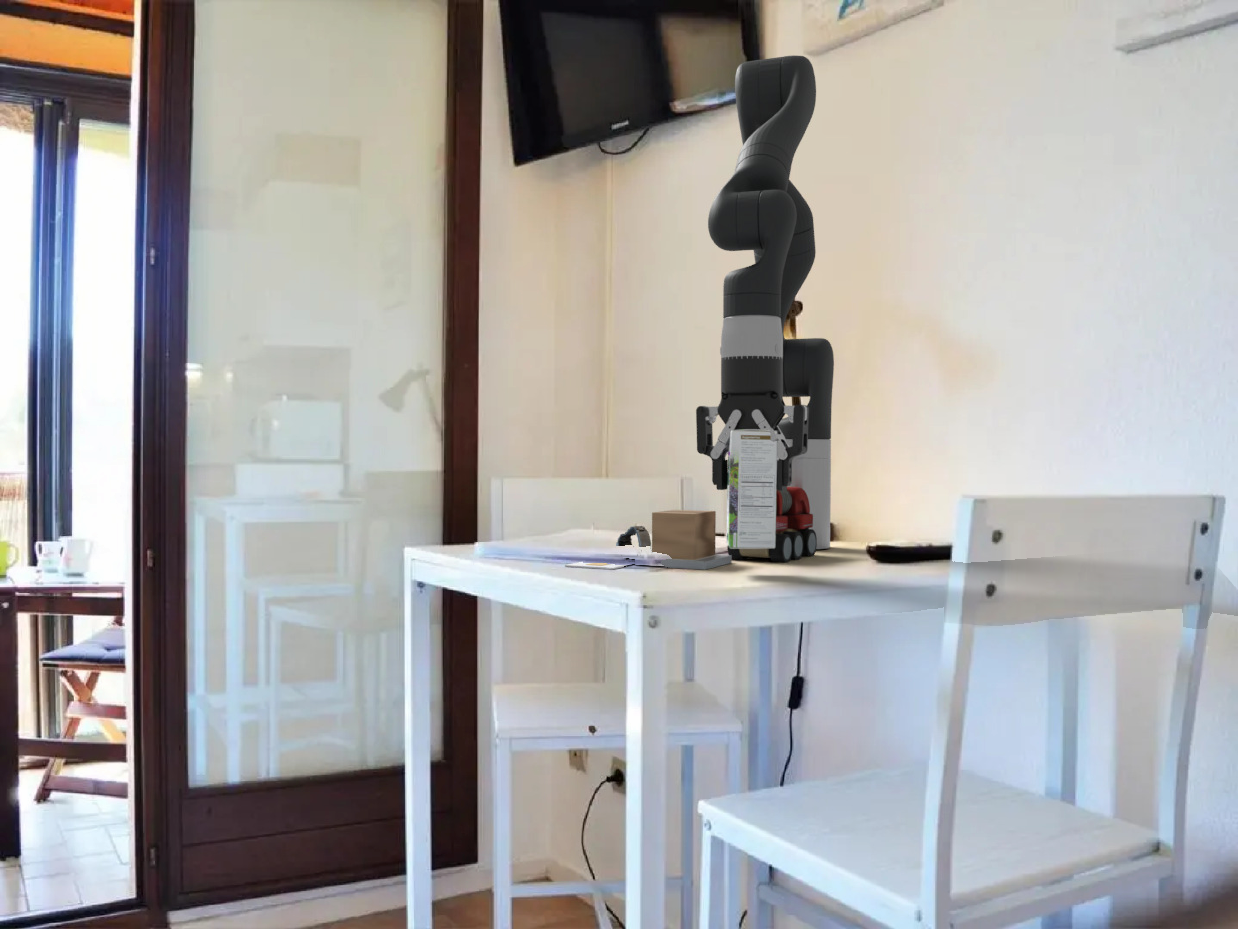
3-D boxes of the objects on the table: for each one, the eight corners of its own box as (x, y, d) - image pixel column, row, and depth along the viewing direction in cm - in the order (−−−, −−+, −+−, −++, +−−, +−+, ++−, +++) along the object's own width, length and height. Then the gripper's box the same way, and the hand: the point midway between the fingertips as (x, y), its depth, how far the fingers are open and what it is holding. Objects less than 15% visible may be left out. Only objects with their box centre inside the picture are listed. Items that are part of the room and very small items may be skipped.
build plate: (664, 559, 147) (664, 551, 147) (731, 562, 143) (731, 555, 143) (634, 565, 138) (634, 557, 138) (705, 569, 134) (705, 561, 134)
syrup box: (725, 544, 132) (725, 429, 131) (772, 544, 132) (773, 429, 131) (728, 549, 126) (729, 428, 126) (778, 549, 126) (778, 428, 125)
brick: (674, 552, 146) (674, 509, 146) (715, 554, 143) (715, 511, 143) (651, 557, 138) (652, 512, 138) (694, 560, 136) (694, 513, 136)
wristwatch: (643, 568, 148) (626, 541, 151) (658, 546, 145) (641, 518, 147) (626, 572, 147) (609, 544, 149) (640, 550, 143) (623, 521, 146)
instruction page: (596, 560, 145) (596, 558, 145) (642, 563, 142) (642, 561, 142) (564, 566, 137) (564, 564, 137) (612, 569, 134) (612, 567, 134)
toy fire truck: (819, 555, 156) (820, 436, 155) (780, 565, 142) (781, 435, 142) (749, 551, 161) (749, 437, 161) (704, 560, 148) (705, 435, 148)
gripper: (817, 355, 128) (816, 490, 129) (707, 359, 135) (707, 487, 135) (800, 351, 122) (799, 493, 122) (685, 355, 128) (685, 490, 128)
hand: (751, 489), depth 129 cm, fingers closed on syrup box, 7 cm apart
